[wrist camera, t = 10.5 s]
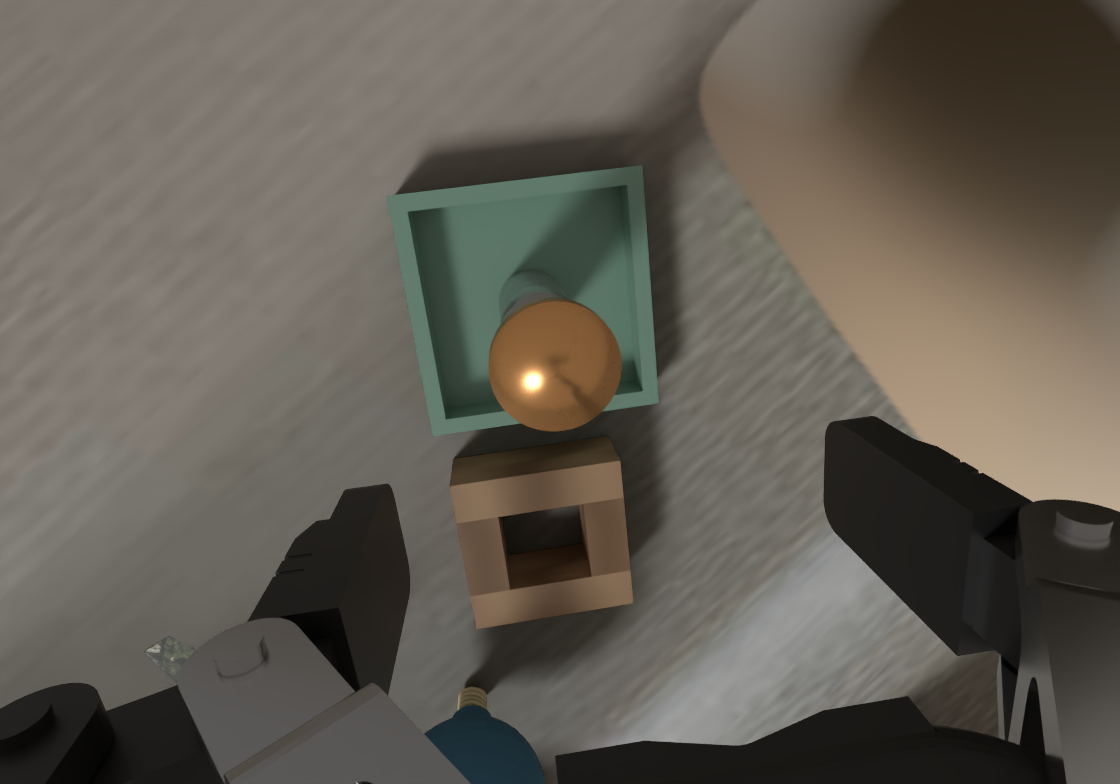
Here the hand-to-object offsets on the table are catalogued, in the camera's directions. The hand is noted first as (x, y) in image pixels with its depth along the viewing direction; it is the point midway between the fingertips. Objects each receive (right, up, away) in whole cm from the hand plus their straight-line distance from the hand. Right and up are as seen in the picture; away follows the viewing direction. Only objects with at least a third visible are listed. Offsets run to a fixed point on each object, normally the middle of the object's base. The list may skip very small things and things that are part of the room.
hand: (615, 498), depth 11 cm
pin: (-3, +7, +21) cm, 23 cm away
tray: (-3, +7, +22) cm, 23 cm away
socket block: (-2, -5, +26) cm, 27 cm away
